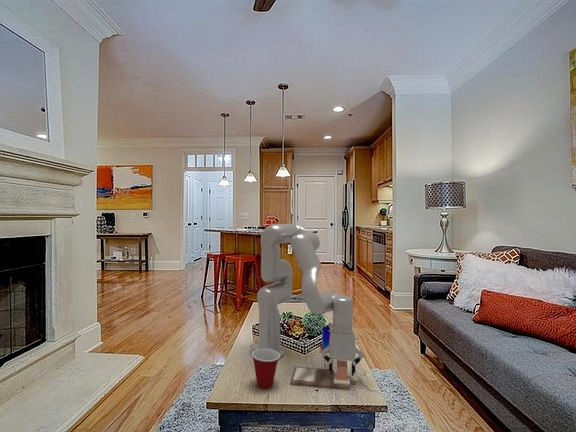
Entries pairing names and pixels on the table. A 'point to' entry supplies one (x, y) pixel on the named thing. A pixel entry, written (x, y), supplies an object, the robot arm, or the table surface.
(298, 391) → the table surface
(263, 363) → the plastic cup
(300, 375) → the board
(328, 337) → the fantasy tower
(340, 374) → the stub
